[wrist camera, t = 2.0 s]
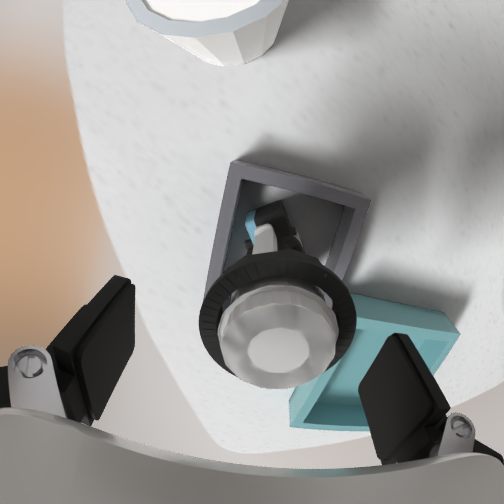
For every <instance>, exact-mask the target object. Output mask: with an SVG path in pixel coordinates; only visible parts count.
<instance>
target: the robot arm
mask: <svg viewBox="0 0 504 504" xmlns="http://www.w3.org/2000/svg"><path fill="white" fill-rule="evenodd" d="M134 346H135V285H134V284H131V280H130V279H128V278H124V277H121V276H117V275H114V276H113V277H112V278H111V279H110V280H109V281H108V282H107V284H106V285H105V286H104V287H103V288H102V289H101V290H100V291H99V292H98V293H97V294H96V295H95V297H94V298H93V299H92V300H91V301H90V302H89V303H88V304H87V305H84V306H83V307H81V309H80V310H79V311H78V312H77V313H76V314H75V315H74V316H73V318H72V319H71V320H70V321H69V322H68V323H67V325H66V326H65V327H64V328H63V329H62V330H61V331H60V333H59V334H58V335H57V336H56V337H55V339H54V340H53V341H52V342H51V343H50V345H49V346H48V347H47V348H46V350H45V349H43V348H41V347H39V346H35V345H27V346H23V347H20V348H18V349H16V350H15V351H14V352H13V353H12V354H11V356H10V358H9V360H8V366H4V367H0V504H504V459H503V457H502V455H501V454H499V453H497V452H496V451H494V450H492V449H491V448H489V447H487V446H486V445H484V444H482V443H480V442H479V441H477V440H476V439H475V428H474V425H473V423H472V422H471V420H470V419H469V418H468V417H466V416H465V415H463V414H461V413H451V414H450V415H449V416H448V417H446V413H447V412H448V411H449V410H450V408H451V407H450V406H449V404H448V402H447V400H446V398H445V396H444V395H443V393H442V391H441V389H440V387H439V386H438V384H437V382H436V380H435V379H434V377H433V375H432V373H431V372H430V370H429V368H428V367H427V365H426V363H425V361H424V360H423V358H422V357H421V355H420V353H419V352H418V350H417V348H416V347H415V345H414V343H413V342H412V340H411V339H410V337H409V336H408V335H407V334H403V333H393V334H391V336H388V337H387V339H386V340H385V342H384V344H383V346H382V347H381V349H380V351H379V353H378V354H377V356H376V358H375V359H374V361H373V363H372V364H371V366H370V368H369V369H368V371H367V373H366V374H365V376H364V377H363V379H362V380H361V382H360V384H359V386H358V393H359V396H360V400H361V403H362V406H363V409H364V413H365V416H366V419H367V423H368V426H369V429H370V433H371V436H372V439H373V443H374V447H375V450H376V454H377V457H378V458H379V459H380V460H381V463H382V465H380V466H370V467H358V468H343V469H342V468H341V469H288V468H271V467H258V466H250V465H241V464H233V463H226V462H220V461H214V460H208V459H202V458H198V457H192V456H188V455H183V454H179V453H175V452H170V451H167V450H163V449H159V448H155V447H152V446H147V445H144V444H141V443H138V442H134V441H131V440H128V439H124V438H122V437H119V436H116V435H112V434H110V433H107V432H104V431H102V430H99V429H96V428H93V427H90V426H91V425H92V423H93V421H94V419H95V420H99V419H100V417H101V415H102V413H103V411H104V409H105V406H106V404H107V402H108V400H109V398H110V396H111V394H112V392H113V390H114V388H115V386H116V384H117V382H118V380H119V378H120V376H121V374H122V372H123V370H124V368H125V366H126V364H127V362H128V360H129V358H130V357H131V355H132V353H133V350H134ZM82 423H83V424H82ZM84 424H86V425H84ZM87 425H88V426H87Z"/></svg>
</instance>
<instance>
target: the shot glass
mask: <svg viewBox="0 0 504 504" xmlns="http://www.w3.org/2000/svg"><path fill="white" fill-rule="evenodd" d="M288 1H289V0H126V4H127V6H128V8H129V9H130V11H131V13H132V14H133V16H134V17H135V19H136V21H137V22H138V23H140V24H142V25H144V26H146V27H147V28H149V29H151V30H153V31H155V32H157V33H158V34H160V35H162V36H164V37H166V38H167V39H169V40H171V41H172V42H174V43H176V44H177V45H179V46H181V47H182V48H184V49H186V50H187V51H189V52H191V53H192V54H194V55H195V56H197V57H199V58H200V59H202V60H203V61H205V62H207V63H210V64H215V65H220V66H225V67H226V66H233V65H241V64H246V63H248V62H250V61H252V60H254V59H256V58H258V57H260V56H262V55H263V54H264V53H265V52H266V51H267V50H268V49H269V48H270V47H271V46H272V45H273V44H274V41H275V38H276V35H277V33H278V30H279V27H280V24H281V21H282V18H283V15H284V13H285V10H286V7H287V4H288Z"/></svg>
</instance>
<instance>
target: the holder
mask: <svg viewBox="0 0 504 504" xmlns="http://www.w3.org/2000/svg"><path fill="white" fill-rule="evenodd" d="M243 179H246V180H250V181H254V182H258V183H263V184H267V185H271V186H275V187H279V188H283V189H287V190H291V191H294V192H298V193H302V194H306V195H309V196H313V197H317V198H320V199H324V200H327V201H331V202H334V203H338V204H341V205H345V207H344V210H343V214H342V217H341V220H340V223H339V226H338V229H337V232H336V235H335V238H334V241H333V244H332V247H331V250H330V253H329V256H328V259H327V262H326V265H325V267H327V268H328V269H330V270H331V271H332V272H334V273H335V274H336V275H337V276H338V277H339V278H340V279H341V280H342V281H343V278H344V275H345V273H346V270H347V268H348V265H349V262H350V260H351V257H352V254H353V252H354V249H355V246H356V243H357V240H358V237H359V235H360V232H361V229H362V226H363V223H364V220H365V217H366V214H367V211H368V208H369V204H370V201H371V200H370V199H368V198H367V197H365V196H364V195H362V194H361V193H358V192H355V191H351V190H348V189H345V188H342V187H338V186H335V185H332V184H328V183H325V182H321V181H318V180H314V179H311V178H307V177H304V176H300V175H296V174H292V173H288V172H285V171H281V170H277V169H273V168H269V167H264V166H260V165H256V164H252V163H247V162H243V161H238V160H234V161H232V162H231V163H230V167H229V172H228V176H227V181H226V185H225V190H224V195H223V200H222V204H221V209H220V214H219V219H218V224H217V229H216V234H215V239H214V244H213V250H212V255H211V260H210V266H209V271H208V276H207V282H206V288H205V293H204V299H205V296H206V294H207V292H208V291H209V289H210V287H211V286H212V285H213V283H214V282H215V281H216V280H217V279H218V278H219V277H220V276H221V275H222V274H223V269H224V265H225V260H226V255H227V250H228V246H229V241H230V236H231V232H232V227H233V223H234V218H235V214H236V209H237V205H238V200H239V196H240V191H241V187H242V183H243ZM322 292H323V295H324V298H325V302H326V303H327V305H328V306H329V307H330V308H332V299H331V298H330V297H329V296H328V295H327V294H326V293H325V292H324V291H323V290H322ZM204 299H203V301H204ZM230 301H231V299H230V298H227V299H226V300H225V302H224V303H223V305H222V306H223V313H224V311H225V310H226V309H227V308H228V307H229V305H230Z"/></svg>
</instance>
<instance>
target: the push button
mask: <svg viewBox="0 0 504 504" xmlns="http://www.w3.org/2000/svg"><path fill="white" fill-rule="evenodd" d="M245 225H246V228H247V231H248V233H249V236H250V239H248V240H245V246H246V249H247V255H246V256H244V257H243V258H242V259H240V260H239V261H238V262H236V263H235V264H234V265H232V266H231V267H230V268H228V269H227V270H226V271H225V272H224V273H223V274H222V275H221V276H220V277H219V278H218V279H217V280H216V281H215V282H214V283H213V285H212V286H211V287H210V289H209V291H208V292H207V294H206V296H205V299H204V301H203V304H202V307H201V310H200V315H199V331H200V335H201V339H202V342H203V344H204V346H205V348H206V350H207V351H208V353H209V354H210V356H211V357H212V358H213V359H214V361H216V362H217V363H218V364H219V365H220V366H221V367H222V368H223V369H225V370H226V371H228V372H229V373H231V374H233V375H235V376H236V377H238V378H239V379H240V380H242V381H244V382H247V383H250V384H252V385H255V386H257V387H260V388H266V389H287V388H293V387H297V386H299V385H303V384H306V383H308V382H310V381H311V380H313V379H314V378H316V377H318V376H320V374H322V373H324V372H325V371H327V370H328V369H330V368H331V367H332V366H334V365H335V364H336V363H337V362H338V361H339V360H340V359H341V358H342V357H343V356H344V354H345V353H346V352H347V350H348V348H349V347H350V345H351V343H352V341H353V338H354V335H355V331H356V325H357V315H356V309H355V305H354V302H353V299H352V297H351V295H350V293H349V291H348V289H347V287H346V286H345V284H344V283H343V281H342V280H341V279H340V278H339V277H338V276H337V275H336V274H335V273H334V272H332V271H331V270H330V269H328V268H327V267H325V266H324V265H322V264H321V263H320V261H319V260H318V259H316V258H314V257H312V256H309V255H306V254H305V252H304V249H303V245H302V242H301V239H300V236H299V234H298V231H297V228H295V230H296V233H297V235H294V236H293V234H292V231H291V228H290V225H289V221H288V218H287V214H286V211H285V209H284V206H283V203H282V201H281V200H280V201H278V202H275V203H272V204H270V205H267V206H264V207H261V208H259V209H256V210H253V211H251V212H248V213H247V217H246V220H245ZM322 290H323V291H324V292H325V293H326V294H327V295H328V296H329V297H330V298H331V299H332V309H331V308H330V307H329V306H328V305H327V303H326V302H325V298H324V295H323V292H322ZM231 294H232V297H231V301H230V305H229V307H228V308H227V309H226V310H225V311H224V313H223V306H222V305H223V303H224V302H225V300H226V299H227V298H228V297H229V296H230V295H231Z"/></svg>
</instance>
